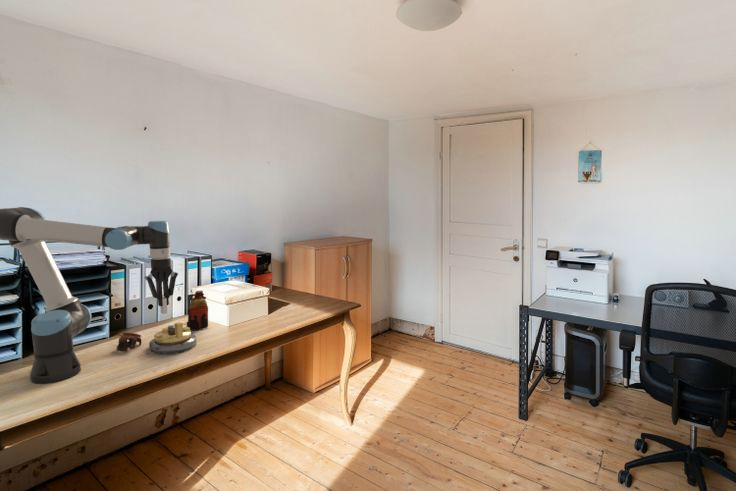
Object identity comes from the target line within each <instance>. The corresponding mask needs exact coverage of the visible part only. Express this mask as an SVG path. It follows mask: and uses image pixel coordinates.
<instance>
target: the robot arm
mask: <svg viewBox="0 0 736 491" xmlns="http://www.w3.org/2000/svg"><path fill="white" fill-rule="evenodd" d="M0 240H1V241H8V242H9V245H10V247H11V248H14V249H17V250H18V251H19V253H20V255H21V257H22V260H23V261H24V263H25V265H26V267H27V269H28V271H29V273H30V274H31V277H32V278H33V281H34V283H35V284H36V286H37V288H38V290H39V292H40V294H41V296H42V299H43V300H44V302H45V304H46V307H45V309H44V312H43V313H39V314H37V315H36V316H34V317H33V319H32V320H31V327H30V331H31V337H32V345H33V346H32V347H33V355H34V360H33V363H32V367H31V371H30V373H29V378H30V382H31V383H35V384H48V383H49V384H50V383H55V382H60V381H64V380H67V379H70V378H72V377H74V376H76V375H78V374H79V373H80V372H81V370H82V368H81V363H80V361H79V359H78V357H77V355H76V353H75V350H74V340H73V338H75V337H76V336H77V335H79V334H81V333H82V332H84V331H85V330H86V329H87V328H88V327H89V326H90V324H91V322H92V315H93V314H92V313H91V310H90V308H89V307H88V306H87V305H84V304H82V303H81V301H80V299H79V298H78V297H76V296H73V295H72V293H71V291H70V289H69V287H68V285H67V282H66V280H65V279H64V276H63V275H62V273H61V271H60V269H59V266H58V265H57V262H56V261H55V259H54V256H53V255H52V252H51V251H50V248H49V246H48V245H47V242H54V243H64V244H73V245H74V244H75V245H85V246H93V247H94V246H95V247H102V248H109V249H111V250H115V251H122V250H125V249H127V248H130V247H132V246H137V245H139V246H140V245H149V257H150V258H151V259H150V273H149V274H148V275H146V276H144V279H145V280H146V282H147V283H148V287H149V289H150V292H151V295H152V297H153V298H154V299H157V304H158V305H157V306H159V307H160V314H162V315H166V314H168V305H169V304H170V302H169V301H170V300H169V299H170V297H172V296H173V295H174V290H175V286H176V280H177V278H178V275H179V274H178V272H175V271H173V269H172V260H171V244H170V228H169V222H167V221H166V220H151V221H148V222H147V225H145V226H138V225H137V226H135V225H134V226H133V225H132V226H128V225H125V226H117V227H108V226H101V225H92V224H81V223H75V222H65V221H58V220H47V219H46V217H45V216H44V214H42V213H41V212H40V211H39V210H36V209H34V208H31V207H24V206H22V207H21V206H19V207H10V208H8V207H7V208H6V207H5V208H0ZM169 278H170V279H169ZM153 279H155V282H154V281H153ZM155 283H156V286H155Z"/></svg>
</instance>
